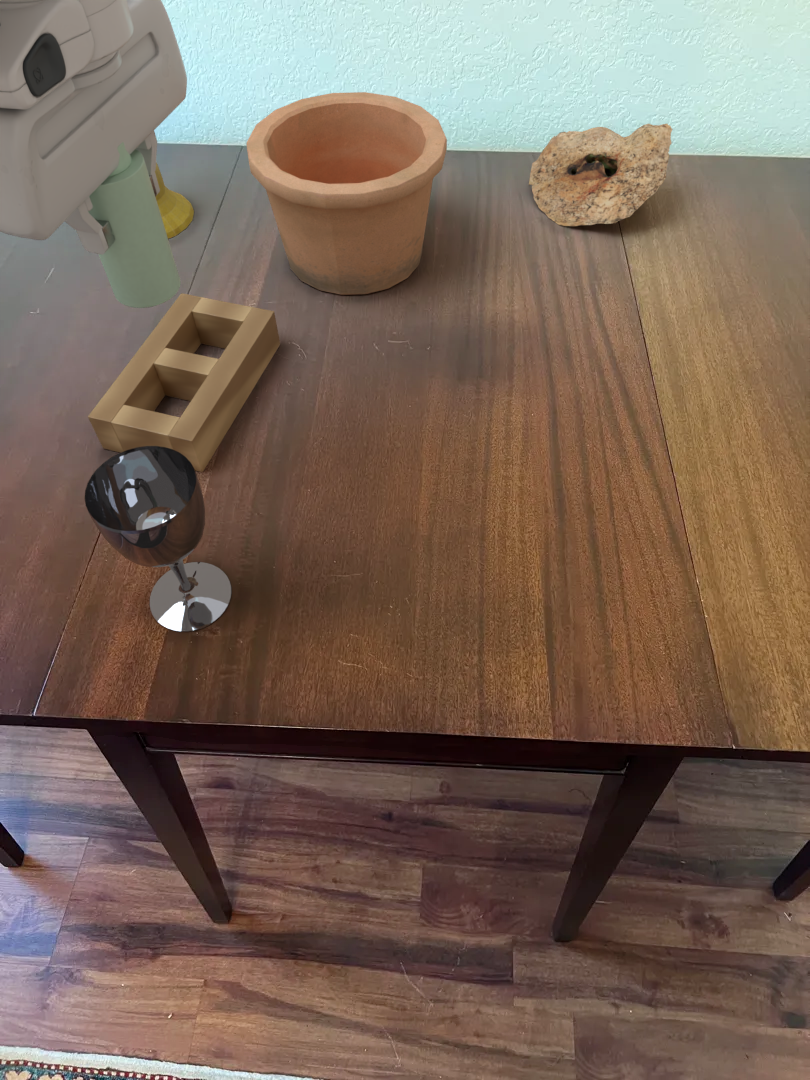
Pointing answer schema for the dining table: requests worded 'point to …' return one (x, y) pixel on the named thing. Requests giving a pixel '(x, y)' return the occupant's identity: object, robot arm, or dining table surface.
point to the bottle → (135, 235)
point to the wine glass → (160, 531)
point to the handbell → (173, 208)
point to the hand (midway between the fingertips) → (124, 222)
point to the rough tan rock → (599, 173)
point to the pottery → (349, 186)
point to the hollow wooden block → (188, 379)
